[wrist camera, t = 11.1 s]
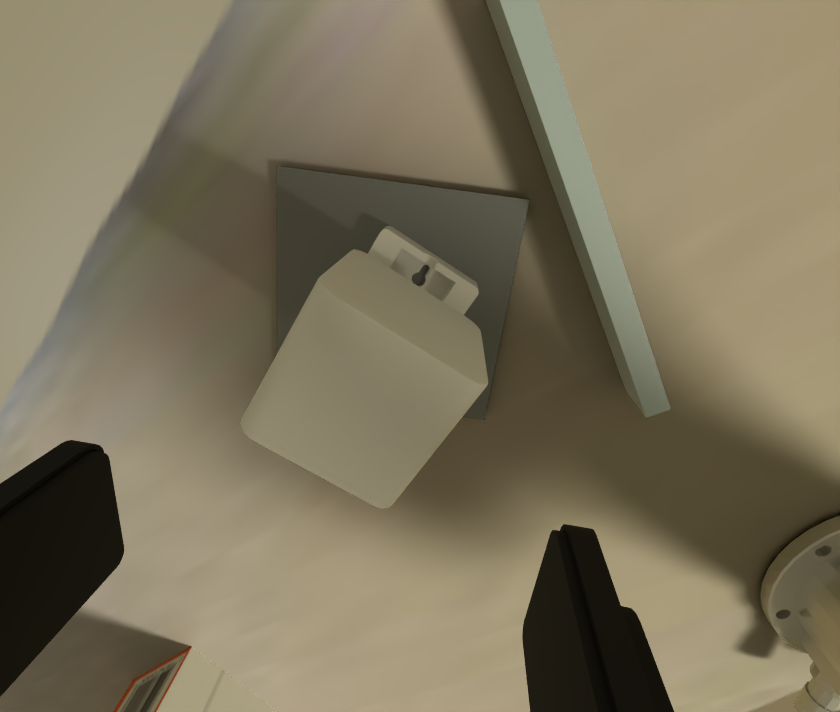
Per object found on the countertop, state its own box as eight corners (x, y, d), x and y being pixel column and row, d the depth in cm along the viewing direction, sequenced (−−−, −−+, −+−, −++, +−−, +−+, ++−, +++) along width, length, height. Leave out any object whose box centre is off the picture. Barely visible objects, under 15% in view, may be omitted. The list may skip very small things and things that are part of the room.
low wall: (647, 382, 25) (670, 409, 22) (625, 390, 25) (646, 417, 23) (511, -20, 19) (520, -52, 16) (484, -4, 19) (488, -32, 16)
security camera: (314, 331, 25) (231, 431, 15) (379, 218, 22) (325, 257, 13) (413, 390, 26) (390, 517, 16) (487, 288, 23) (507, 372, 14)
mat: (483, 414, 27) (484, 419, 26) (281, 385, 27) (277, 390, 26) (527, 198, 22) (529, 200, 21) (281, 165, 22) (276, 166, 22)
